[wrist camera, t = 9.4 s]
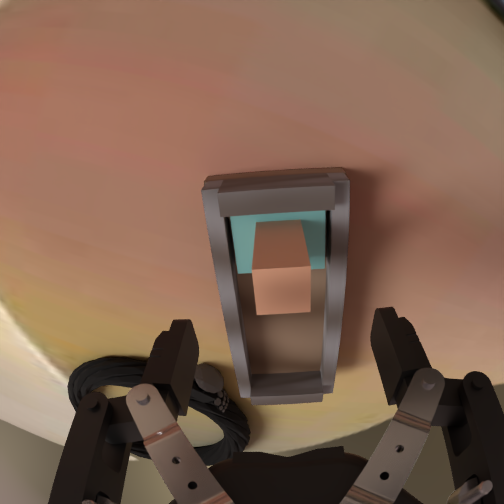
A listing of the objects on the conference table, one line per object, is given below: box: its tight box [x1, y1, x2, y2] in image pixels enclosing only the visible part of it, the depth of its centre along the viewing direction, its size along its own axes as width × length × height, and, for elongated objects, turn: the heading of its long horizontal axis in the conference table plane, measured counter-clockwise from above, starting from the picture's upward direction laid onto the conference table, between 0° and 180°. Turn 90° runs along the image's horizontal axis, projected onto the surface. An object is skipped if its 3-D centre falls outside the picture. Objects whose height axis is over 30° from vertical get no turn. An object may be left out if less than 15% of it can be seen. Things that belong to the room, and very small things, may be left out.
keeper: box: [230, 210, 325, 315], centre depth 20 cm, size 5×6×8 cm
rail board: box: [201, 167, 350, 405], centre depth 26 cm, size 22×10×4 cm, turn 5°
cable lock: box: [67, 357, 250, 466], centre depth 38 cm, size 28×4×30 cm
